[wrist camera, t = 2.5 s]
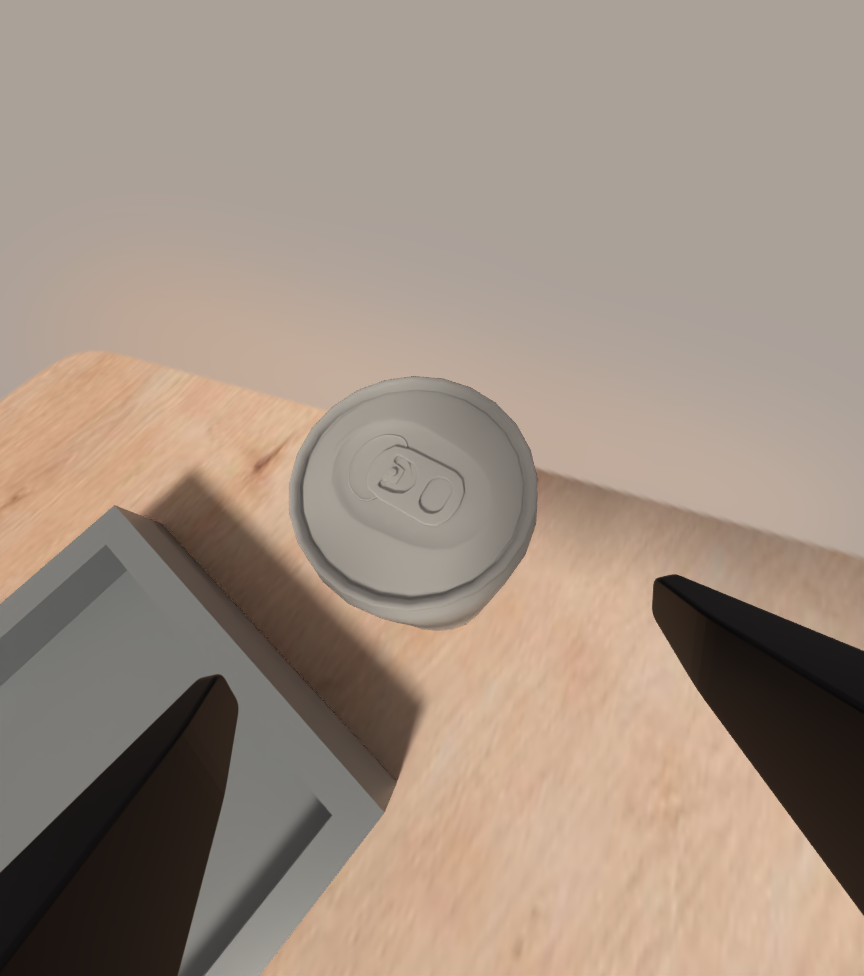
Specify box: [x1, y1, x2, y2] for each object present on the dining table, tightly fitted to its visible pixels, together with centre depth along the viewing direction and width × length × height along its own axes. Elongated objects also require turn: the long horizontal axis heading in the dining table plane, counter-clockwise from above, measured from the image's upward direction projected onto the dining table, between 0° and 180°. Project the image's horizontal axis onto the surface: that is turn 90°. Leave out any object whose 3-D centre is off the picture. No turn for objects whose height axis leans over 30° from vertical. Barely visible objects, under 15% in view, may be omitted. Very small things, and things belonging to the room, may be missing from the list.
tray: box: [0, 505, 397, 976], centre depth 15 cm, size 16×16×3 cm
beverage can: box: [289, 376, 538, 631], centre depth 13 cm, size 5×5×12 cm
